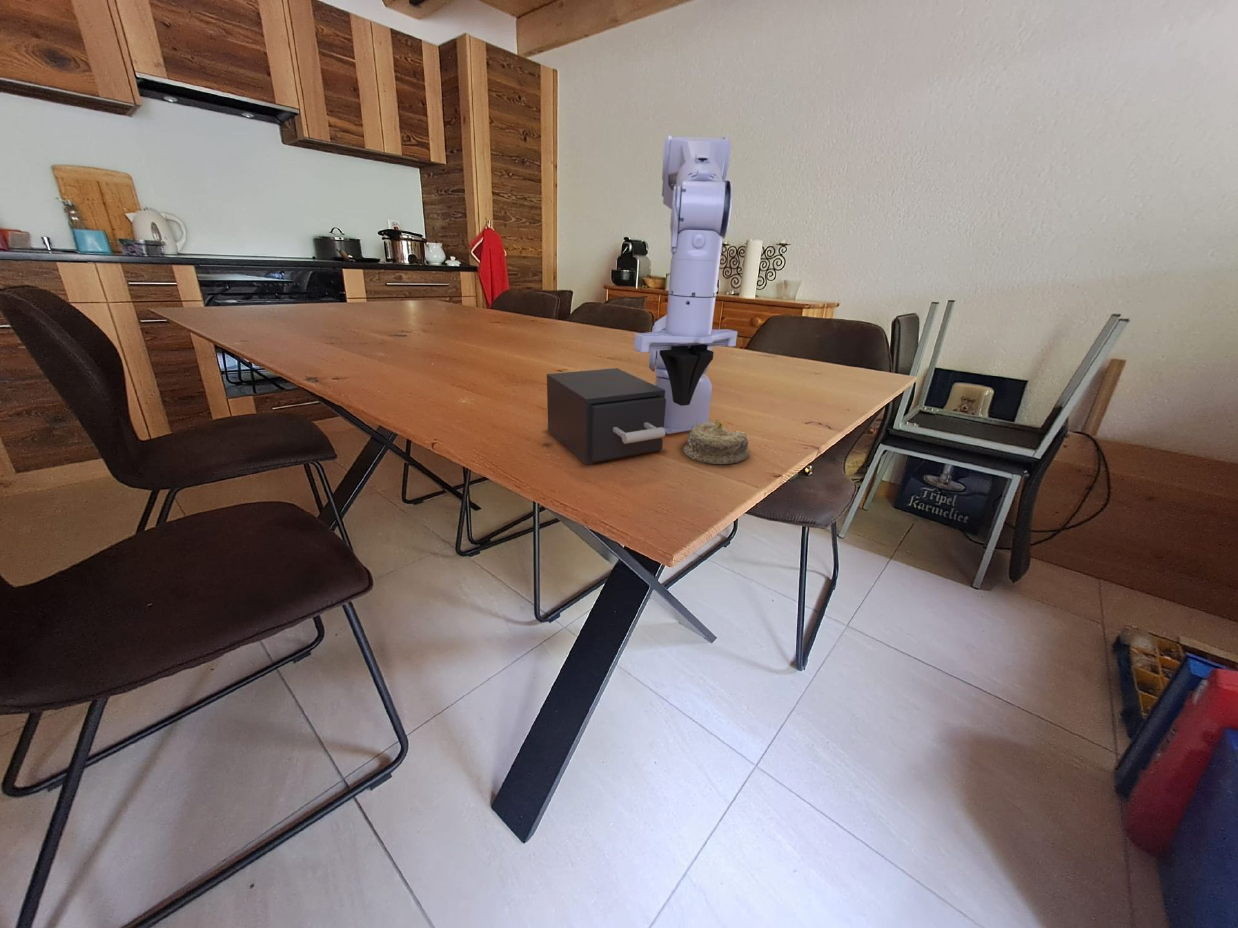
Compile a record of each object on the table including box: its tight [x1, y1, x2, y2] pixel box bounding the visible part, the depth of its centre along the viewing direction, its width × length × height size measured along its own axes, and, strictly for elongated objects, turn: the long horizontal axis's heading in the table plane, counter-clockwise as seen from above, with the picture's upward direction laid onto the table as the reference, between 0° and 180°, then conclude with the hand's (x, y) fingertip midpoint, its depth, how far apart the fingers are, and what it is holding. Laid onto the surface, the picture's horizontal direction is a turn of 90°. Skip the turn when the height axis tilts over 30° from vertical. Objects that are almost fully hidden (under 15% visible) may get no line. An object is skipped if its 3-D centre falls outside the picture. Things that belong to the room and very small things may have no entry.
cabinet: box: [546, 367, 665, 466], centre depth 73 cm, size 15×13×10 cm
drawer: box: [590, 397, 666, 462], centre depth 70 cm, size 18×11×8 cm, turn 29°
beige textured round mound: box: [683, 419, 750, 465], centre depth 71 cm, size 10×10×5 cm
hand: (681, 403), depth 63 cm, fingers closed
